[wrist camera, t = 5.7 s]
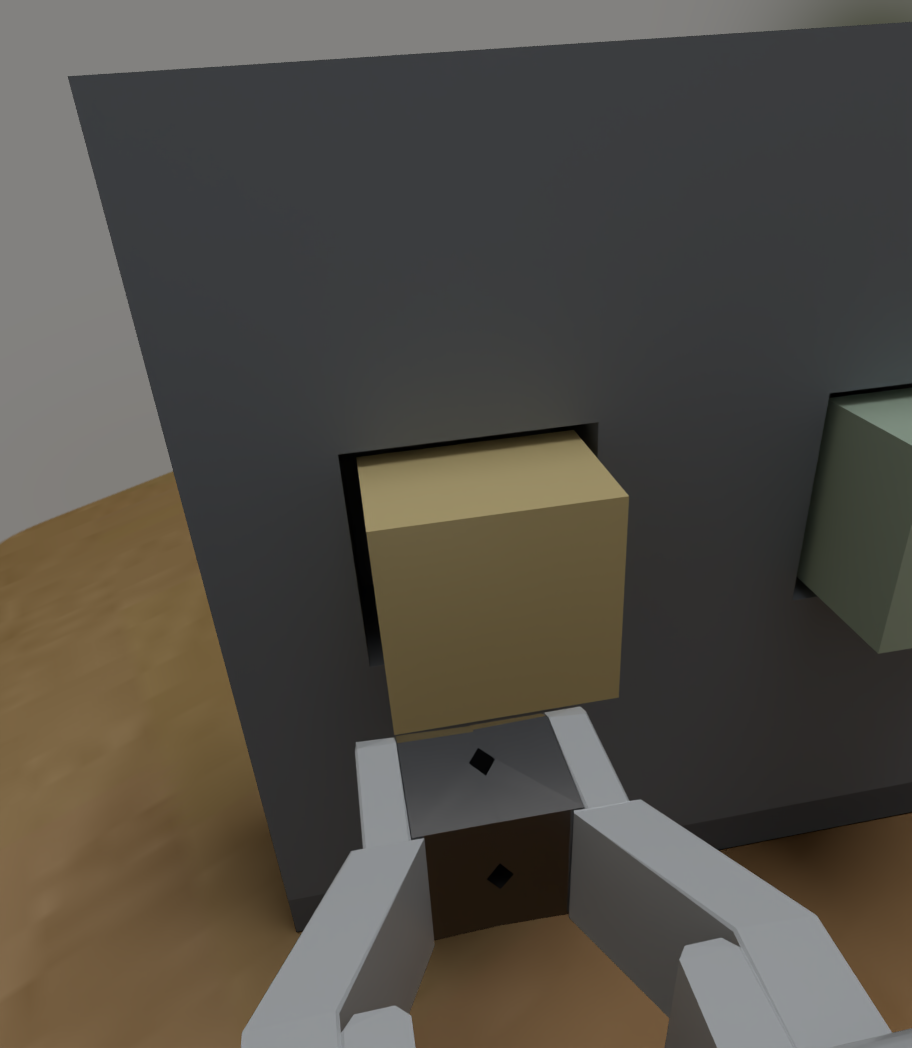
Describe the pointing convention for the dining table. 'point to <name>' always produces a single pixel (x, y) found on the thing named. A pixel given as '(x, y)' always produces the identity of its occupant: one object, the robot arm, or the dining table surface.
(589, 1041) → the dining table surface
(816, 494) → the sage button
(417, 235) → the console
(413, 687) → the ochre button
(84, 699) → the dining table surface
